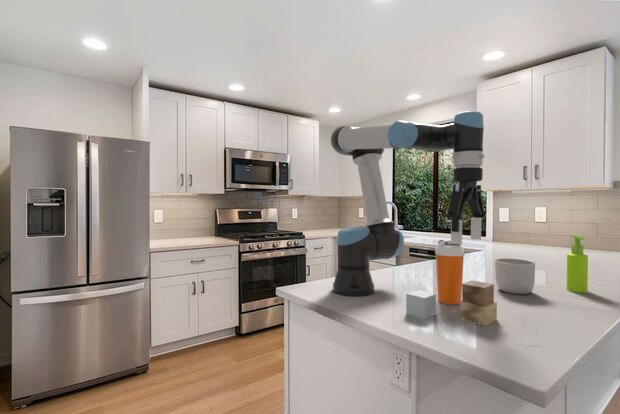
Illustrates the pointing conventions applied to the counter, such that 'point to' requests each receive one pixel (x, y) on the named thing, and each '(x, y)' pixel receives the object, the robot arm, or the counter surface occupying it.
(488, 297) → the walnut block
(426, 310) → the grey-blue cube
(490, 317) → the oak block
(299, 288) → the counter surface
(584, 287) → the soap dispenser
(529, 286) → the planter
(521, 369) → the counter surface
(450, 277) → the shaker bottle
